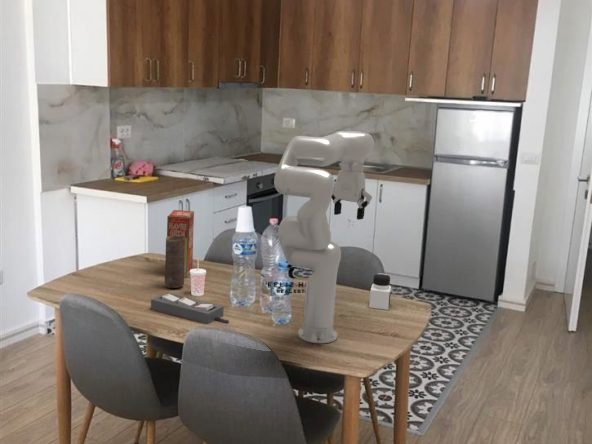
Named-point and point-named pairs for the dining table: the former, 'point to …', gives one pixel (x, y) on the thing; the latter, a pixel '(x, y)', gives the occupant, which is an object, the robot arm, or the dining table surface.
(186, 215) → the food packaging
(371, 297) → the medicine bottle
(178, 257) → the candle
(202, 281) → the beverage cup
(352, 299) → the dining table surface
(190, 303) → the rocker middle
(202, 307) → the rocker near
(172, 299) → the rocker far
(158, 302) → the power strip
